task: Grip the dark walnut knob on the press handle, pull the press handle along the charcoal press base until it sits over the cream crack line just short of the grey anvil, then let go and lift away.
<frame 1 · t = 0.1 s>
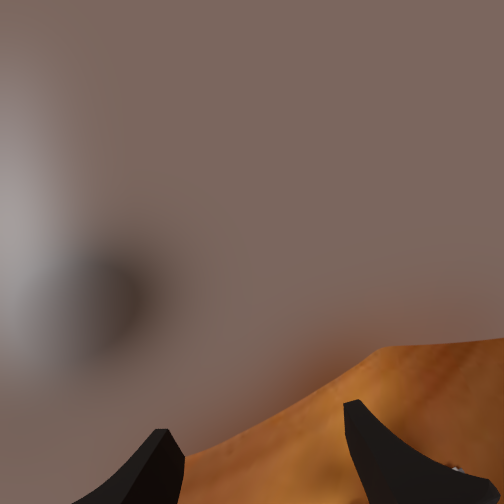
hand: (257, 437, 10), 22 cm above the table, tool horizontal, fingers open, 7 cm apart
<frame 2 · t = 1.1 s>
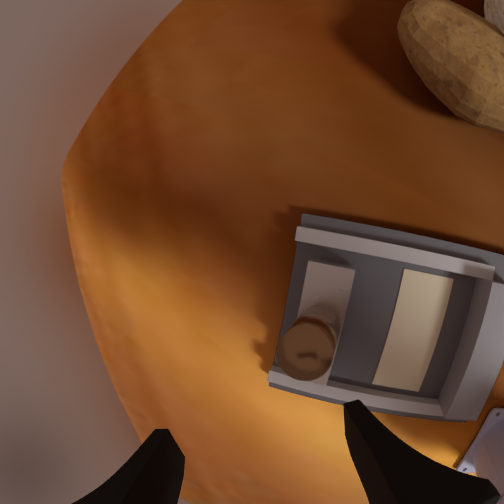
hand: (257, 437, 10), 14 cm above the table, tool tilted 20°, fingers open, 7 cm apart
press base: (399, 326, 20), on the table
potato: (466, 92, 17), on the table, touching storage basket
press handle: (315, 332, 17), point 6 cm above the table, slide at 0.0 cm
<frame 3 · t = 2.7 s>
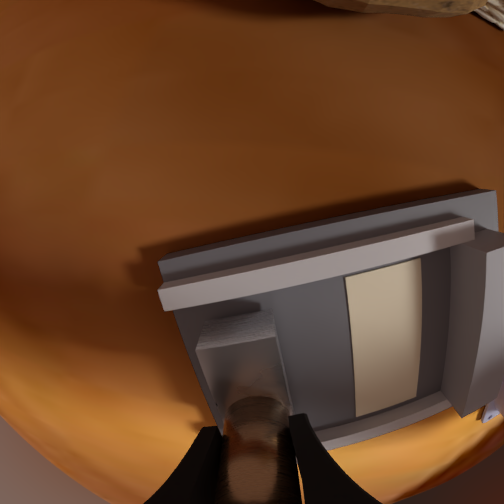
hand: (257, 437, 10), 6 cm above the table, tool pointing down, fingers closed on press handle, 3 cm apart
press base: (362, 339, 15), on the table
press handle: (257, 439, 10), point 6 cm above the table, slide at 0.0 cm, touching gripper
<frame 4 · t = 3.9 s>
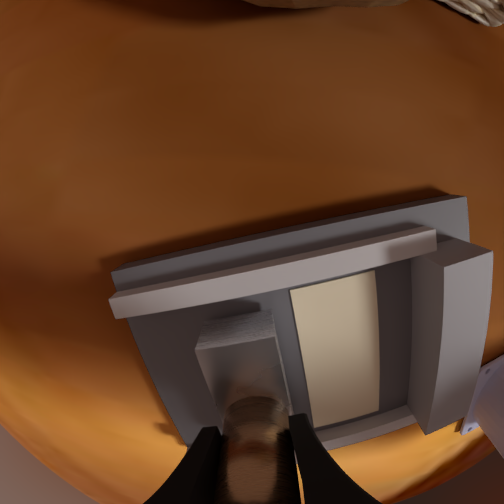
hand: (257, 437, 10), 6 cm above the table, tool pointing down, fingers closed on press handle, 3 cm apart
press base: (318, 350, 16), on the table
press handle: (257, 439, 10), point 6 cm above the table, slide at 2.5 cm, touching gripper
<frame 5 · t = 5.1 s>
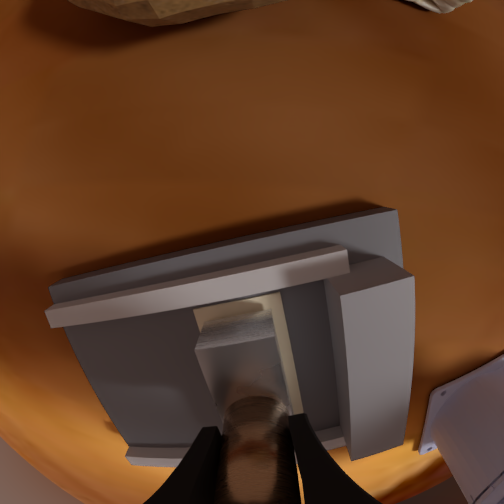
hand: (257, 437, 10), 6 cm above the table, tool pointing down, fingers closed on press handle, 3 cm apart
press base: (239, 366, 16), on the table
press handle: (257, 439, 10), point 6 cm above the table, slide at 7.0 cm, touching gripper
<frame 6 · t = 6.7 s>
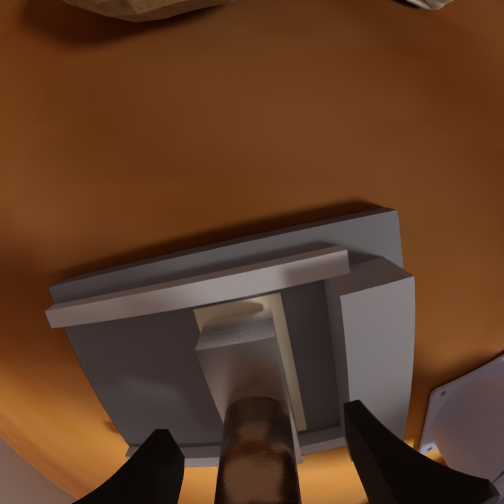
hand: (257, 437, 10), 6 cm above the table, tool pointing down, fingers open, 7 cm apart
press base: (239, 366, 16), on the table
press handle: (257, 439, 10), point 6 cm above the table, slide at 7.0 cm
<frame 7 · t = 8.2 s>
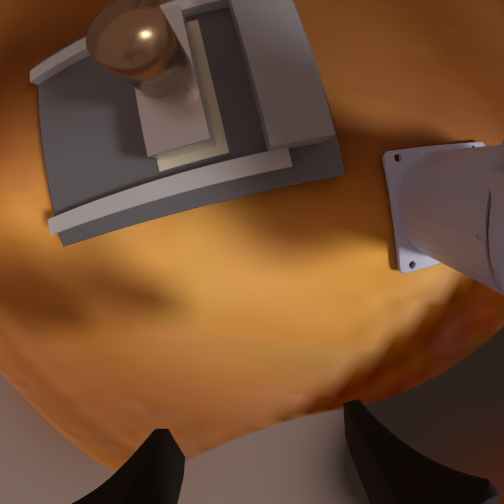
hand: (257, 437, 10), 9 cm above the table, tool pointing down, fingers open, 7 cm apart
press base: (168, 100, 16), on the table
press handle: (154, 62, 11), point 6 cm above the table, slide at 7.0 cm
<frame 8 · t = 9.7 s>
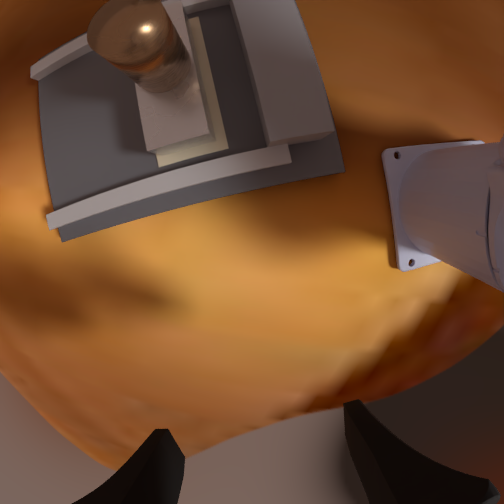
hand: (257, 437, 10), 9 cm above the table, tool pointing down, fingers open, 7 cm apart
press base: (168, 97, 16), on the table
press handle: (154, 57, 10), point 6 cm above the table, slide at 7.0 cm
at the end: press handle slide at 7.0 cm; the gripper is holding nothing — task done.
